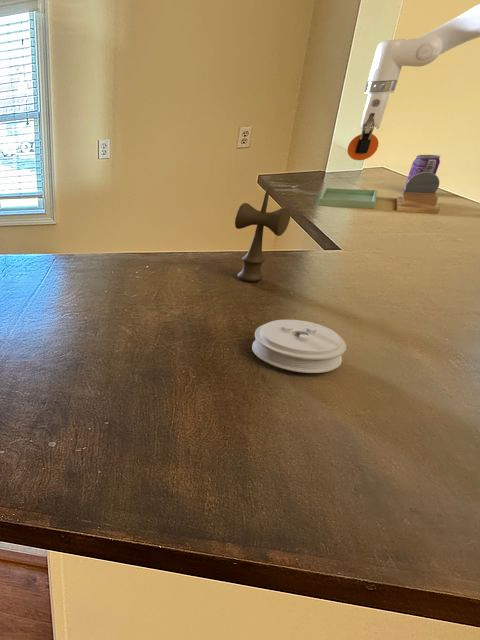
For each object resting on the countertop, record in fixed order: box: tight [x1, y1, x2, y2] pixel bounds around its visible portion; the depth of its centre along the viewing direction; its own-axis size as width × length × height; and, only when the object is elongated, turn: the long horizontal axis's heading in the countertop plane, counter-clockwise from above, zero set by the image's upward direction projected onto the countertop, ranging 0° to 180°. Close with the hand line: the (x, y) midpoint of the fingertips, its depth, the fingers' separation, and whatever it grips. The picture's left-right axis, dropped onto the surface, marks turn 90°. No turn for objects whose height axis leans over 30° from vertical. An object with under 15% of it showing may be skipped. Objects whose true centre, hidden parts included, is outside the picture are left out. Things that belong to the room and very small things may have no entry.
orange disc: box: [346, 133, 380, 161], centre depth 154 cm, size 1×8×8 cm, turn 55°
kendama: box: [234, 187, 292, 282], centre depth 103 cm, size 6×10×20 cm, turn 43°
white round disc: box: [251, 319, 347, 374], centre depth 77 cm, size 13×13×5 cm
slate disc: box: [405, 172, 440, 193], centre depth 151 cm, size 1×8×8 cm, turn 55°
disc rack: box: [395, 191, 440, 214], centre depth 150 cm, size 16×10×4 cm, turn 145°
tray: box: [317, 187, 378, 209], centre depth 162 cm, size 19×15×2 cm
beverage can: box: [403, 154, 441, 192], centre depth 163 cm, size 7×7×12 cm
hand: (361, 152), depth 155 cm, fingers closed on orange disc, 1 cm apart
